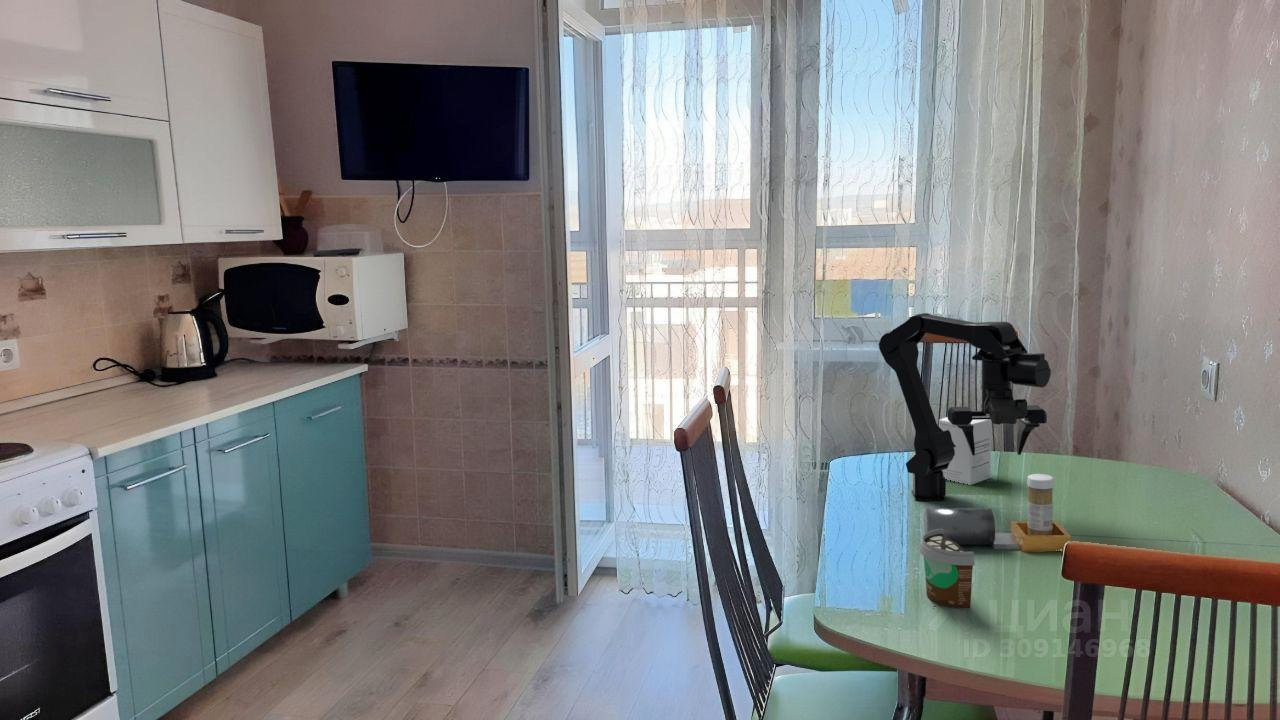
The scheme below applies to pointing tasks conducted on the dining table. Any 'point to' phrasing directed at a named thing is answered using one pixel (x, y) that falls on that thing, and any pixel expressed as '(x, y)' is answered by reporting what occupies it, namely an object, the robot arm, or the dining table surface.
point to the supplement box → (969, 453)
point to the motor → (990, 530)
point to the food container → (946, 570)
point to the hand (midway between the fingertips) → (995, 454)
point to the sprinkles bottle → (1040, 504)
